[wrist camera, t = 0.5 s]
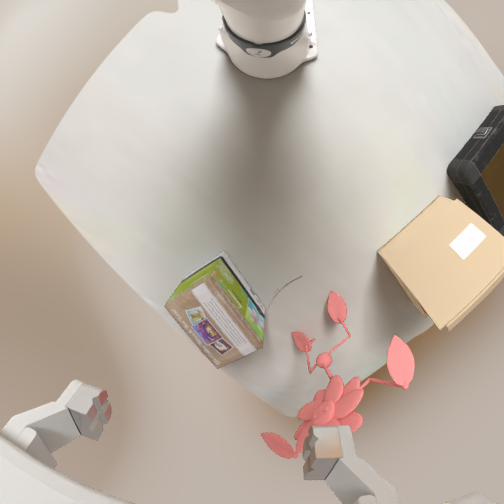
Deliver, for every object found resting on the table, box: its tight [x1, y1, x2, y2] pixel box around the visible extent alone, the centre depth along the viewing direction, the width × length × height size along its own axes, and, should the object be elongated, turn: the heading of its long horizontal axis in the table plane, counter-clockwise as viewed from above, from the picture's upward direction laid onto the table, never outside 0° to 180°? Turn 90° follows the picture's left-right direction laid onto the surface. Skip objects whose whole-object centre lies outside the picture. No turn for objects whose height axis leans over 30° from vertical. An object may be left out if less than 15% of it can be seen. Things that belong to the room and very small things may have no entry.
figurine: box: [261, 276, 415, 459], centre depth 43 cm, size 15×26×35 cm, turn 140°
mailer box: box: [377, 196, 454, 318], centre depth 51 cm, size 18×16×7 cm
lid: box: [387, 199, 504, 331], centre depth 40 cm, size 18×17×3 cm
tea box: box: [164, 251, 265, 369], centre depth 53 cm, size 15×10×15 cm, turn 34°
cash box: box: [447, 105, 504, 237], centre depth 43 cm, size 25×20×8 cm
